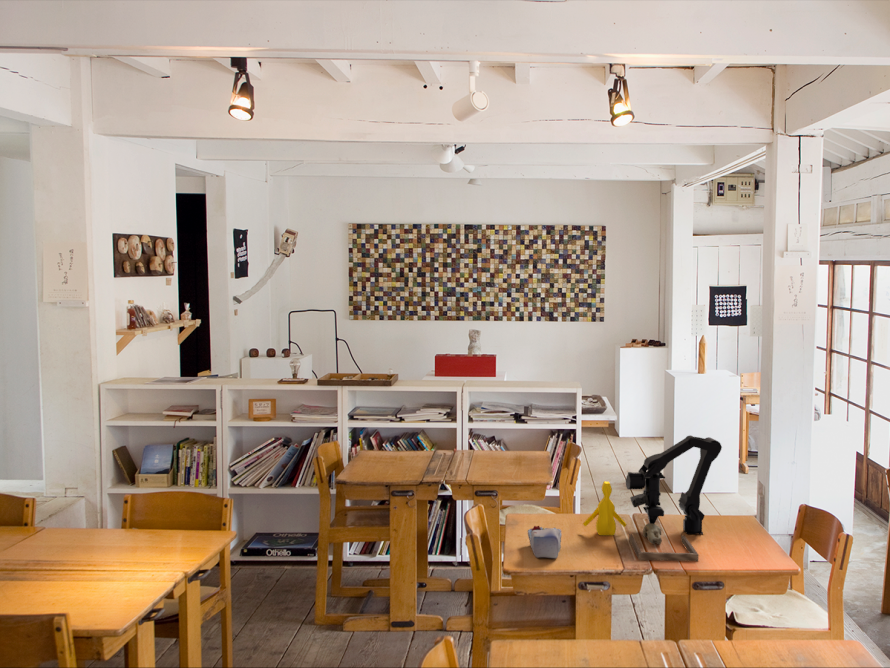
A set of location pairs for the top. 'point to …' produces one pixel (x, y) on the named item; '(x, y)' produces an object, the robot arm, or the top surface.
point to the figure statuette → (605, 514)
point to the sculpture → (652, 533)
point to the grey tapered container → (545, 541)
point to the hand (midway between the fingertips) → (651, 526)
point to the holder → (666, 556)
